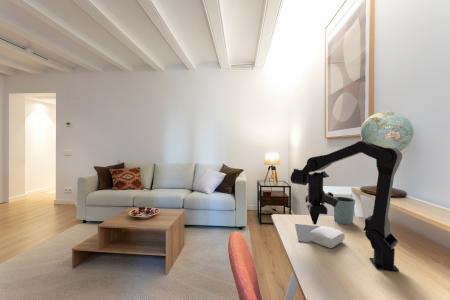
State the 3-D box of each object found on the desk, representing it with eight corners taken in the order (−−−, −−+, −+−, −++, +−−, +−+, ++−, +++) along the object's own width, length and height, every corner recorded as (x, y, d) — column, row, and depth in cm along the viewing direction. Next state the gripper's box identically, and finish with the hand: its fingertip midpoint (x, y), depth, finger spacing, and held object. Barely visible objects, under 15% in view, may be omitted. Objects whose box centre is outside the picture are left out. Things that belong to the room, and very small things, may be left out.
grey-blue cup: (351, 219, 120) (351, 197, 120) (357, 226, 111) (358, 202, 110) (330, 217, 123) (331, 196, 122) (334, 224, 113) (335, 200, 113)
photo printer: (308, 230, 93) (323, 223, 101) (307, 240, 93) (322, 232, 101) (333, 239, 85) (347, 231, 93) (332, 250, 85) (346, 241, 93)
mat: (332, 245, 89) (332, 244, 89) (298, 241, 93) (298, 241, 93) (323, 227, 109) (323, 226, 109) (295, 224, 112) (295, 223, 112)
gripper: (342, 193, 82) (341, 235, 83) (331, 184, 100) (330, 218, 101) (310, 191, 85) (309, 232, 85) (305, 182, 103) (304, 216, 103)
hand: (314, 224), depth 94 cm, fingers closed
